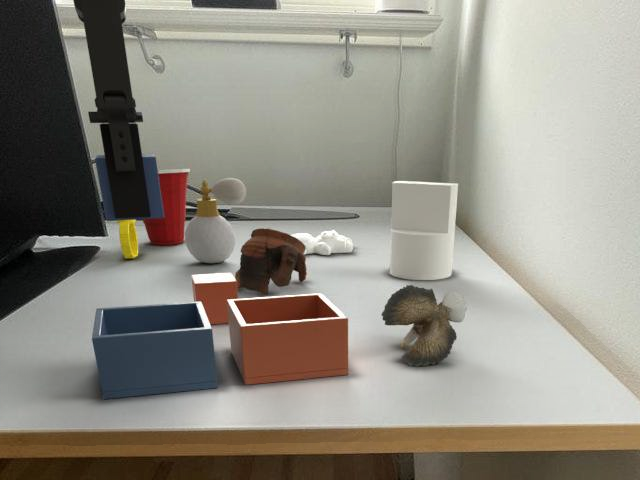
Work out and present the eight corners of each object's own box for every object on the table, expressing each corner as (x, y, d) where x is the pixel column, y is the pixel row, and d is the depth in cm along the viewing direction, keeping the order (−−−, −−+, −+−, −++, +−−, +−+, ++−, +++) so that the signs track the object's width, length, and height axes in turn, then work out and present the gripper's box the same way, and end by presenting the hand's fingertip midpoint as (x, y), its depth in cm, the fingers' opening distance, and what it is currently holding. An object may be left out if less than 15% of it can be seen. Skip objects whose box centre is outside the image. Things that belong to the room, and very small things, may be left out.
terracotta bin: (231, 352, 64) (226, 299, 62) (322, 344, 67) (321, 293, 64) (245, 385, 57) (240, 326, 54) (348, 374, 59) (348, 318, 56)
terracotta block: (195, 314, 76) (190, 274, 74) (234, 311, 77) (231, 272, 75) (199, 325, 72) (194, 283, 70) (240, 322, 73) (236, 281, 71)
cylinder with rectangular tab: (459, 270, 98) (466, 181, 92) (439, 282, 91) (446, 187, 85) (403, 264, 101) (406, 179, 95) (379, 276, 94) (381, 184, 88)
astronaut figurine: (352, 255, 107) (352, 236, 106) (278, 255, 107) (277, 235, 106) (353, 246, 115) (353, 227, 113) (284, 245, 115) (284, 227, 113)
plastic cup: (180, 235, 124) (172, 164, 118) (209, 243, 117) (201, 168, 111) (124, 241, 118) (112, 167, 112) (151, 250, 110) (139, 171, 105)
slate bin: (106, 363, 61) (96, 308, 59) (207, 354, 64) (201, 301, 61) (103, 399, 54) (91, 338, 51) (218, 387, 56) (212, 328, 53)
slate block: (107, 214, 56) (96, 155, 54) (161, 211, 57) (153, 153, 55) (106, 221, 52) (94, 158, 50) (164, 218, 54) (155, 156, 51)
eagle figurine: (382, 322, 69) (361, 330, 61) (424, 265, 66) (408, 265, 58) (439, 368, 69) (426, 382, 61) (483, 312, 66) (476, 319, 58)
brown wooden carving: (219, 288, 89) (234, 228, 89) (279, 312, 94) (294, 255, 94) (257, 281, 79) (274, 214, 79) (322, 308, 84) (338, 245, 84)
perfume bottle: (190, 257, 105) (181, 174, 99) (252, 256, 106) (246, 174, 100) (185, 267, 98) (174, 179, 93) (250, 266, 99) (244, 179, 94)
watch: (137, 261, 102) (130, 220, 99) (118, 261, 102) (111, 220, 99) (144, 254, 107) (138, 215, 104) (126, 254, 107) (120, 215, 104)
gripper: (135, -216, 37) (187, 225, 48) (131, -122, 52) (172, 200, 63) (-13, -235, 35) (78, 230, 46) (27, -131, 50) (88, 202, 61)
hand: (132, 212), depth 55 cm, fingers closed on slate block, 4 cm apart
